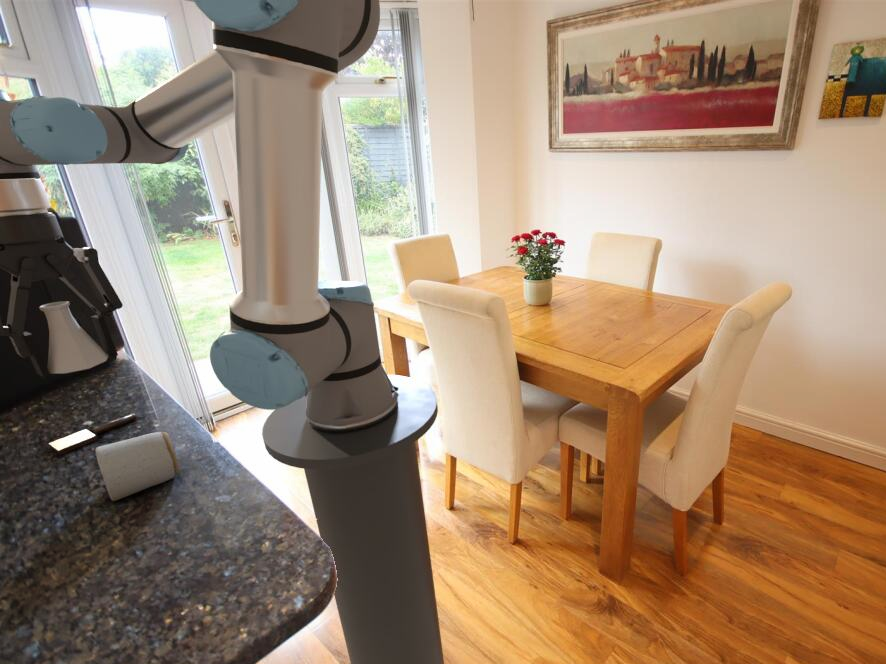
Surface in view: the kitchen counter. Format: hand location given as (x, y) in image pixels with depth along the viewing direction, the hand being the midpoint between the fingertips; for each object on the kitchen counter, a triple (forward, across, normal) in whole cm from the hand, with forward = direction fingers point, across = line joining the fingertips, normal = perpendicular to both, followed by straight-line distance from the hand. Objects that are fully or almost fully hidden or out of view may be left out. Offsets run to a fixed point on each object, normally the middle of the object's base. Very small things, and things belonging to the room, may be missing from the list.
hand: (79, 364), depth 72 cm
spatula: (+14, 0, -6) cm, 15 cm away
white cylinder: (+15, +2, +17) cm, 22 cm away
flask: (0, 0, 0) cm, 0 cm away
